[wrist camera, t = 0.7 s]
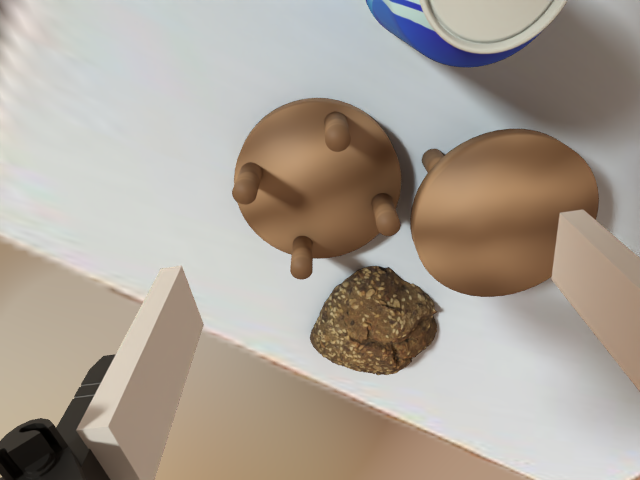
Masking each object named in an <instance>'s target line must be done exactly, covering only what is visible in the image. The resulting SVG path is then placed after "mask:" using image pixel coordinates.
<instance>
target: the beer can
mask: <svg viewBox="0 0 640 480" xmlns="http://www.w3.org/2000/svg"><path fill="white" fill-rule="evenodd" d="M567 1H568V0H366V2H367V5H368V7H369V9H370V11H371V13H372V14H373V16H374V17H375V19H376V20H377V21H378V22H379V23H380V24H381V25H382V26H383V27H384V28H385V29H387V30H388V31H390V32H391V33H392V34H394V35H395V36H397V37H398V38H400V39H401V40H403V41H404V42H406V43H407V44H409V45H410V46H412V47H413V48H414V49H416V50H417V51H419V52H420V53H422V54H423V55H425V56H427V57H428V58H430V59H432V60H434V61H436V62H439V63H442V64H445V65H449V66H455V67H479V66H484V65H488V64H492V63H495V62H498V61H500V60H503V59H505V58H507V57H509V56H511V55H513V54H514V53H516V52H518V51H519V50H521V49H522V48H524V47H525V46H526V45H528V44H529V43H530V42H531V41H532V40H534V39H535V38H536V37H537V36H538V35H539V34H540V33H541V32H542V31H543V30H544V29H545V28H546V27H547V26H548V25H549V24H550V23H551V22H552V21H553V20H554V19H555V17H556V16H557V15H558V14H559V12H560V11H561V10H562V8H563V7H564V6H565V4H566V2H567Z"/></svg>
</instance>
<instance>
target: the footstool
mask: <svg viewBox="0 0 640 480" xmlns="http://www.w3.org/2000/svg"><path fill="white" fill-rule="evenodd" d="M422 163H423V165H424V167H425V169H426V170H427V172H428V174H427V175H426V177H425V178H424V180H423V181H422V183H421V185H420V187H419V188H418V191H417V193H416V196H415V198H414V201H413V205H412V209H411V218H410V225H411V234H412V239H413V241H414V244H415V247H416V250H417V252H418V255H419V258H420V260H421V262H422V263H423V265H424V267H425V268H426V269H427V271H428V272H429V273H430V274H431V275H432V276H433V277H434V278H435V279H436V280H437V281H438V282H440V283H441V284H443V285H444V286H446V287H448V288H450V289H452V290H454V291H457V292H460V293H463V294H467V295H472V296H481V297H494V296H504V295H509V294H514V293H517V292H520V291H524V290H527V289H529V288H531V287H534V286H536V285H538V284H540V283H542V282H544V281H546V280H547V279H549V278H550V277H552V270H553V262H554V254H555V246H556V238H557V231H558V223H559V215H560V213H561V212H568V211H576V210H584V211H586V212H587V213H588V214H589V215H590V216H591V217H593V218H594V219H595V220H596V217H597V212H598V202H599V196H598V187H597V184H596V180H595V177H594V175H593V173H592V171H591V169H590V167H589V166H588V165H587V163H586V162H585V160H584V159H583V158H582V157H581V156H580V155H579V154H578V153H576V152H575V151H574V150H572V149H571V148H569V147H568V146H566V145H565V144H563V143H562V142H560V141H559V140H557V139H556V138H553V137H551V136H549V135H547V134H544V133H541V132H538V131H534V130H527V129H504V130H497V131H493V132H489V133H485V134H482V135H479V136H477V137H474V138H472V139H470V140H468V141H466V142H464V143H462V144H460V145H459V146H457V147H456V148H454V149H453V150H451V151H450V152H448V153H447V154H446V155H445V156H444V155H443V154H442V153H441V151H439V150H438V149H430V150H428V151H426V152H425V153H424V155H423V157H422Z"/></svg>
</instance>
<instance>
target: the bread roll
mask: <svg viewBox="0 0 640 480" xmlns="http://www.w3.org/2000/svg"><path fill="white" fill-rule="evenodd" d="M436 312H437V311H436V310H435V307H434V303H433V301H432V300H431V299H430V298H429V296H428V295H426V294H425V293H423V292H422V290H421V289H420V288H419V287H418V286H415V285H414V284H410V283H408V282H406V281H403V280H402V279H400V278H399V277H398V276H397V275H396V274H395V273H394V272H393V271H392V270H391V269H390V268H389V267H388V268H380V267H379V266H369V267H366V268H363V269H361V270H358V271H357V272H356V273H354V274H353V275H351V276H350V277H349V278H347V279H346V280H344V282H343V283H342V284H339V285H338V286H336V287H335V288H334V290H333V291H332V293H331V294H330V296H329V298H328V299H327V300H326V302H325V303H324V305H323V308H322V310H321V312H320V316H319V317H318V319H317V321H316V323H315V325H314V327H313V329H312V331H311V335H310V340H311V343H312V345H313V347H314V348H315V349H316V350H317V351H318V352H319V353H320V354H322V356H323V357H325V358H327V359H328V360H330V361H331V362H332V363H335V364H337V365H342V366H345V367H347V368H350V369H353V370H356V371H360V372H362V371H363V372H368V373H373V374H375V373H376V374H377V375H381V374H384V375H389V374H394V373H397V372H398V371H400V370H401V369H403V368H404V367H407V365H408V364H409V363H410V362H412V360H411V359H412V357H416V355H417V354H419V353H420V352H421V351H422V350H424V349H426V347H427V346H429V345H430V344H431V343H432V341H433V340H434V338H435V333H436V332H437V325H436V323H435V320H434V317H433V314H435V313H436Z"/></svg>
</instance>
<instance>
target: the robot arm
mask: <svg viewBox="0 0 640 480" xmlns="http://www.w3.org/2000/svg"><path fill="white" fill-rule="evenodd" d="M551 279H552V281H553V282H554V283H555V284H556V286H557V287H558V288H559V289H560V291H561V292H562V293H563V295H564V296H565V297H566V298H567V300H568V301H569V302H570V303H571V305H572V306H573V307H574V309H575V310H576V311H577V312H578V314H579V315H580V316H581V317H582V319H583V320H584V321H585V323H586V324H587V325H588V326H589V328H590V329H591V330H592V331H593V333H594V334H595V335H596V337H597V338H598V339H599V340H600V342H601V343H602V344H603V345H604V347H605V348H606V349H607V351H608V352H609V353H610V354H611V356H612V357H613V358H614V359H615V361H616V362H617V363H618V364H619V366H620V367H621V368H622V370H623V371H624V372H625V373H626V375H627V376H628V377H629V378H630V380H631V381H632V382H633V384H634V385H635V386H636V387H637V389H638V390H639V391H640V258H639V257H638V256H637V255H635V254H634V253H633V252H632V251H631V250H630V249H628V248H627V247H626V246H625V245H624V244H623V243H622V242H620V241H619V240H618V239H617V238H616V237H615V236H613V235H612V234H611V233H610V232H609V231H608V230H606V229H605V228H604V227H603V226H602V225H601V224H599V223H598V222H597V221H596V220H595V219H594V218H593V217H591V216H590V215H589V214H588V213H587V212H586V211H584V210H576V211H568V212H561V213H560V215H559V223H558V231H557V238H556V246H555V254H554V262H553V270H552V278H551ZM203 325H204V324H203V322H202V319H201V316H200V313H199V311H198V308H197V305H196V303H195V300H194V297H193V295H192V292H191V289H190V287H189V284H188V281H187V279H186V276H185V273H184V271H183V268H182V266H176V267H169V268H162V269H160V271H159V273H158V275H157V277H156V279H155V281H154V283H153V285H152V287H151V288H150V290H149V292H148V294H147V296H146V298H145V300H144V302H143V304H142V306H141V307H140V309H139V312H138V313H137V315H136V317H135V319H134V321H133V323H132V325H131V327H130V329H129V330H128V332H127V334H126V336H125V338H124V340H123V342H122V344H121V346H120V347H119V350H118V352H117V353H116V354H115V355H107V356H103V357H102V358H101V359H100V360H99V361H98V362H97V363H96V364H95V365H94V366H93V367H92V368H91V369H90V370H89V371H88V373H87V375H86V377H85V378H84V380H83V382H82V384H81V387H79V389H78V391H77V392H76V394H75V396H74V397H75V398H74V399H73V400H72V401H71V403H70V405H69V406H68V408H67V410H66V412H65V414H64V415H63V417H62V419H61V420H60V422H59V424H58V426H57V427H55V426H54V424H53V423H52V422H51V421H50V420H48V419H42V418H40V419H35V420H30V421H28V422H26V423H24V424H21V425H20V426H17V427H16V428H15V429H13V430H12V431H11V432H9V433H8V434H7V435H6V436H5V437H4V438H3V439H2V440H1V441H0V474H1V475H2V478H0V480H154V479H155V476H156V473H157V470H158V467H159V464H160V461H161V457H162V454H163V451H164V448H165V445H166V441H167V438H168V435H169V432H170V429H171V426H172V423H173V420H174V416H175V413H176V410H177V407H178V404H179V400H180V397H181V394H182V391H183V388H184V385H185V381H186V379H187V375H188V372H189V369H190V366H191V363H192V360H193V356H194V353H195V350H196V347H197V344H198V341H199V338H200V335H201V331H202V328H203Z"/></svg>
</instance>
